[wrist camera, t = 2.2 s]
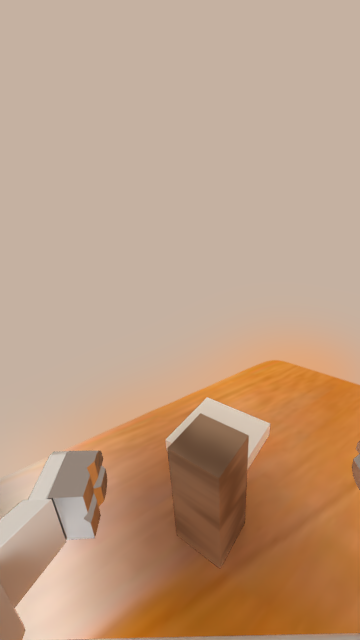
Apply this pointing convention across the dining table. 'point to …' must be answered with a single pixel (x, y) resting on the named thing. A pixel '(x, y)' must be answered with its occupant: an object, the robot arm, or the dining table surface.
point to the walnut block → (209, 486)
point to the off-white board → (233, 419)
